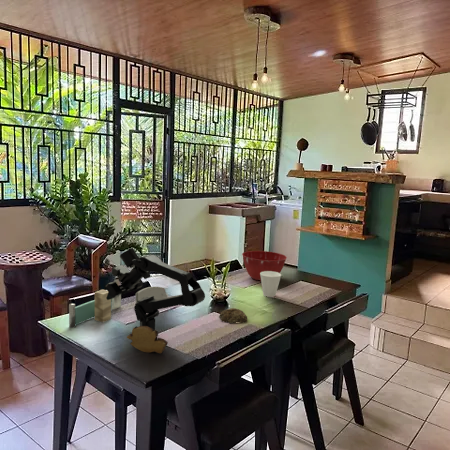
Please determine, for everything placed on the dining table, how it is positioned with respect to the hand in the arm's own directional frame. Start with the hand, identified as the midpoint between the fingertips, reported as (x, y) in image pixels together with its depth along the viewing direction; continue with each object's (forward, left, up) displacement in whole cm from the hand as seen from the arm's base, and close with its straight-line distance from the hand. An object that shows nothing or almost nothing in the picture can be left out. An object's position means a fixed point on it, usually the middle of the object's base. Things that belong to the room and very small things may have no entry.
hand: (114, 296), depth 180 cm
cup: (-23, -86, -12) cm, 90 cm away
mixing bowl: (0, -111, -12) cm, 111 cm away
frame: (+12, +2, -12) cm, 17 cm away
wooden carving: (-32, +6, -13) cm, 35 cm away
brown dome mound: (-32, -44, -13) cm, 55 cm away
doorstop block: (+7, +2, -12) cm, 14 cm away
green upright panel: (+11, +3, -12) cm, 16 cm away
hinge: (+8, -27, -13) cm, 31 cm away
